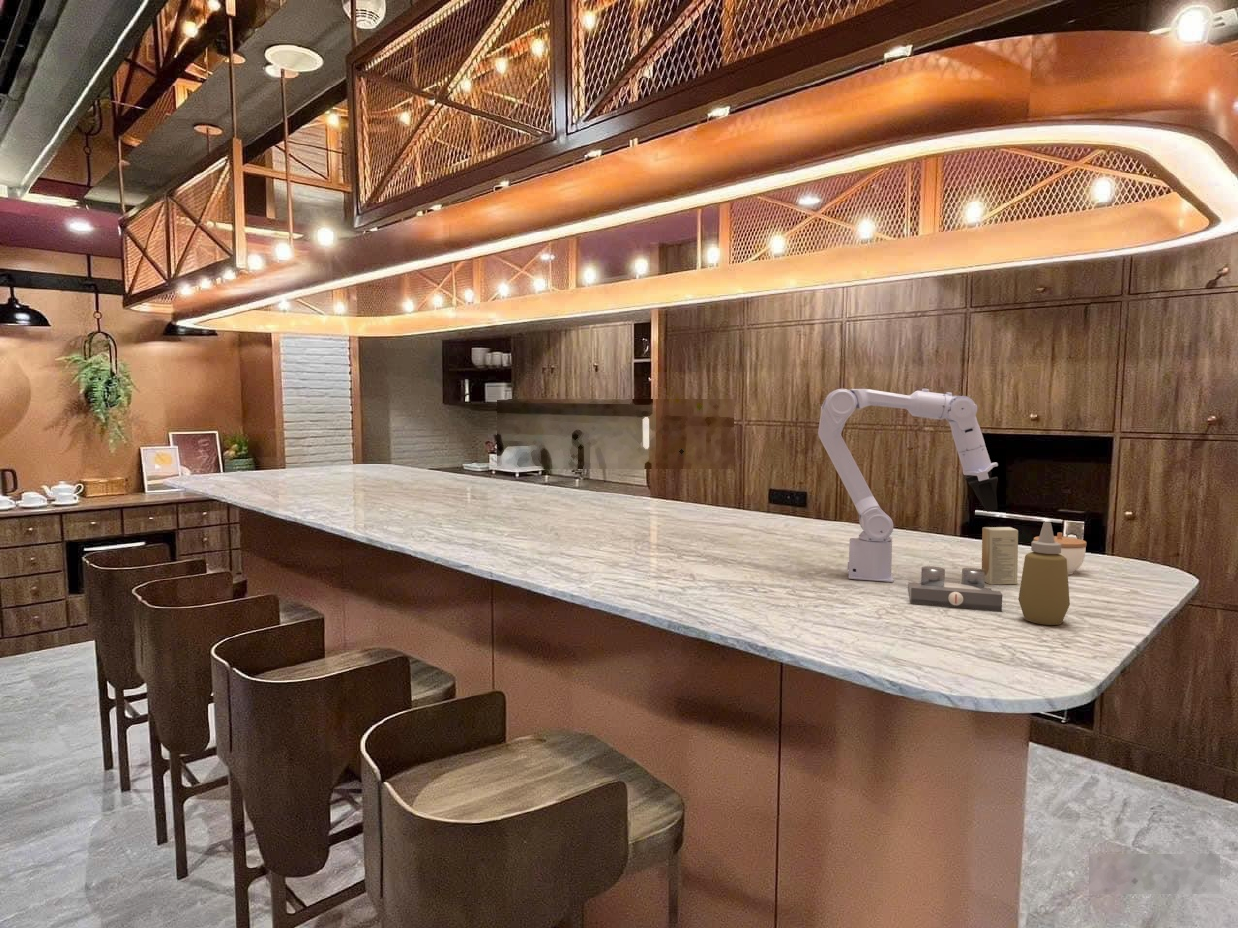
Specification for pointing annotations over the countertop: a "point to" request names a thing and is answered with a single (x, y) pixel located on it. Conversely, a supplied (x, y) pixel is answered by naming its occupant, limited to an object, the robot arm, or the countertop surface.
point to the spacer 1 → (932, 576)
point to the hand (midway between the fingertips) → (989, 507)
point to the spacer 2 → (973, 577)
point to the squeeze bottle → (1044, 581)
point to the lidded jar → (1071, 551)
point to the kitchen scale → (955, 596)
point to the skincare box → (1000, 555)
